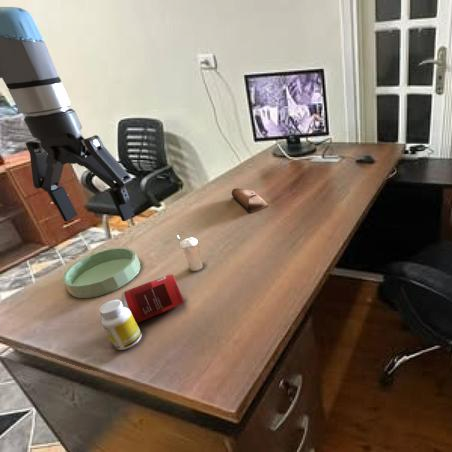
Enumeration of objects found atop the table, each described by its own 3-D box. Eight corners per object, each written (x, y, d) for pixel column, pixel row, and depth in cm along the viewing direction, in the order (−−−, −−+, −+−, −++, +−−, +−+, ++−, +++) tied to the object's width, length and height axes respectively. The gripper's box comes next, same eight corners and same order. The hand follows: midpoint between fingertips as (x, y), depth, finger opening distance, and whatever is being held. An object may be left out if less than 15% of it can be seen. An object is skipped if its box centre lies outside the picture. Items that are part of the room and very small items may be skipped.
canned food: (176, 282, 88) (128, 301, 83) (170, 267, 82) (118, 286, 77) (186, 308, 85) (137, 329, 80) (181, 294, 78) (127, 316, 74)
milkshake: (193, 261, 100) (182, 231, 95) (208, 264, 98) (198, 233, 93) (182, 271, 96) (171, 240, 91) (198, 273, 94) (187, 242, 90)
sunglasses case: (270, 204, 127) (258, 193, 123) (256, 218, 126) (244, 207, 122) (251, 190, 141) (240, 179, 137) (239, 203, 140) (228, 192, 136)
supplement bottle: (146, 329, 77) (129, 295, 73) (136, 349, 73) (117, 314, 68) (121, 332, 77) (103, 298, 73) (109, 352, 73) (89, 317, 68)
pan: (54, 302, 89) (47, 290, 87) (90, 262, 104) (84, 251, 103) (124, 293, 90) (118, 281, 88) (149, 255, 105) (145, 244, 103)
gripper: (124, 102, 62) (164, 209, 72) (10, 111, 67) (63, 210, 77) (93, 112, 56) (141, 227, 66) (-31, 120, 60) (32, 227, 71)
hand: (99, 218), depth 72 cm, fingers open, 13 cm apart
